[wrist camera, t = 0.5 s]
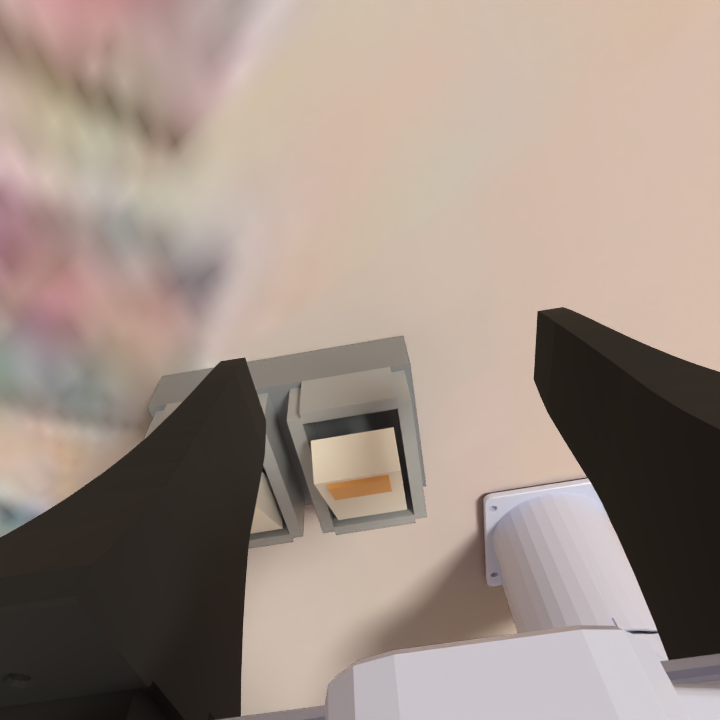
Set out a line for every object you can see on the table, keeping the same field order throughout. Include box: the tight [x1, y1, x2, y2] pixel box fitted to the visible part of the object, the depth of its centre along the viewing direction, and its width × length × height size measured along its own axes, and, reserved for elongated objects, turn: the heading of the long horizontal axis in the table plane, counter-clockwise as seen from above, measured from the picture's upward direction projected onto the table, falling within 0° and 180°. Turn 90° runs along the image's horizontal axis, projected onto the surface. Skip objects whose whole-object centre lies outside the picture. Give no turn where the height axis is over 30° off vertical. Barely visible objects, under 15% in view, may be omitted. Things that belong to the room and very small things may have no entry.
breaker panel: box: [144, 336, 427, 549], centre depth 24 cm, size 8×12×5 cm, turn 99°
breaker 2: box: [311, 427, 407, 520], centre depth 22 cm, size 6×3×2 cm, turn 9°
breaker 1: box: [250, 472, 283, 534], centre depth 22 cm, size 6×3×2 cm, turn 9°
